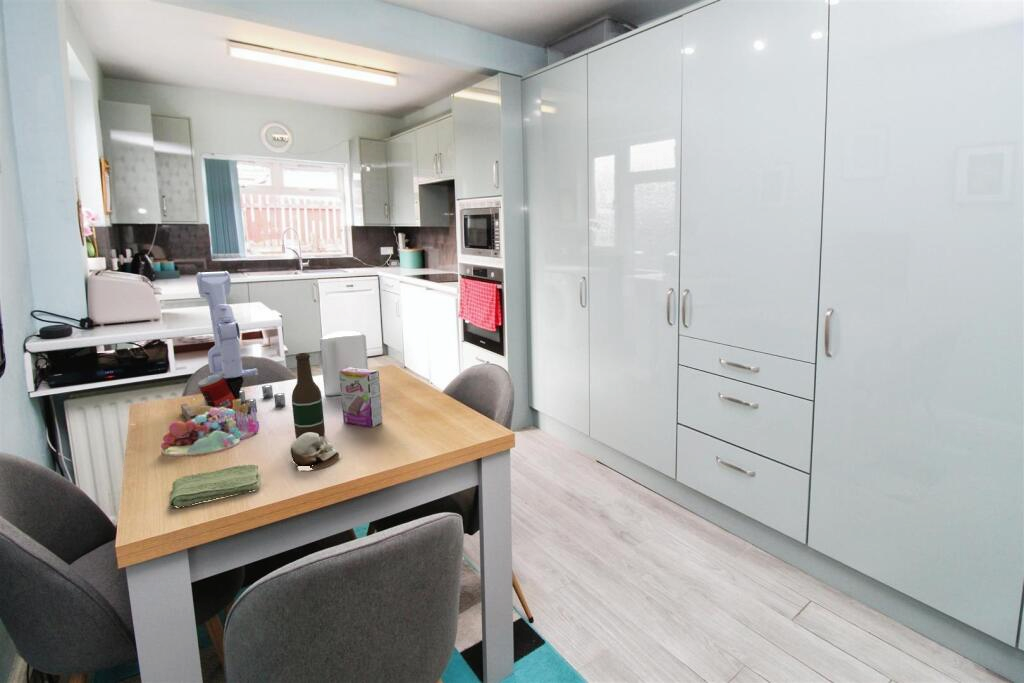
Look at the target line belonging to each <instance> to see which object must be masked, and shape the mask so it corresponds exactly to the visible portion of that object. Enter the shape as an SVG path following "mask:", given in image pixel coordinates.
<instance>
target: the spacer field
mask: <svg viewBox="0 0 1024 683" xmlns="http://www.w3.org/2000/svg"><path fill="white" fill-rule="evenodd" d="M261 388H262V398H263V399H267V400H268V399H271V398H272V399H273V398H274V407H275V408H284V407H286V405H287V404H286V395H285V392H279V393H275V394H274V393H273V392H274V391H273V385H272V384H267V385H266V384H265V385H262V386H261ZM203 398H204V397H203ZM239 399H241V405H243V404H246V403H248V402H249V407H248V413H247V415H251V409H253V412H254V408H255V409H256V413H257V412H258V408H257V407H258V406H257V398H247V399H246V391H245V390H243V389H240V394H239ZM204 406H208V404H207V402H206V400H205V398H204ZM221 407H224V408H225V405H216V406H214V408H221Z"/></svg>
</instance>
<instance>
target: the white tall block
mask: <svg viewBox="0 0 1024 683" xmlns="http://www.w3.org/2000/svg"><path fill="white" fill-rule="evenodd" d="M319 347H320V357H321V367H322V368H321V369H322V378H323V379H322V380H323V389H324V396H327V397H329V396H331V397H333V396H341V385H340V374H339V371H340V370H343V369H346V368H349V367H352V368H361V369H369V364H368V353H367V352H368V351H367V350H368V349H367V337H366V335H365V334H364V333H362V332H359V331H356V330H338V331H334V332H331V333H329V334H327V335H323V336H322V337H321V338H320V339H319Z"/></svg>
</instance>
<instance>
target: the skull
mask: <svg viewBox="0 0 1024 683" xmlns="http://www.w3.org/2000/svg"><path fill="white" fill-rule="evenodd" d="M290 456H291V460H292V459H293V461H294V462H295V463H296V464H297V465H298V466H310V468H312V469H314V470H313V471H315V469H317V470H321V469H323V468H325V467H328V466H330V465H332V464H334V463H335V462H337V460H338V459H339V457H340V453H339V452H338V451H337V450H336V449H335V448H333V445H332V443H331V442H329V441H327V439H326V438H325V437H324V436H323V437H319V434H317V433H312V432H308V433H304V434H302V435H301V436H299V437H298V438H297V439H296V438H295V440H294V441H293V443H291V446H290ZM296 464H295V465H296ZM297 465H296V466H297ZM312 465H313V466H312ZM298 466H297V467H298Z"/></svg>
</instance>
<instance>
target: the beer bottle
mask: <svg viewBox="0 0 1024 683" xmlns="http://www.w3.org/2000/svg"><path fill="white" fill-rule="evenodd" d="M310 358H311V355H310V353H308V352H301V353H300V352H299V353H297V354H296V355H295V360H296V374H297V376H296V377H297V379H296V385H295V386H294V389H293V390H292V393H291V404H292V405H291V406H292V407H291V408H292V415H293V422H294V423H293V426H294V434H295V440H296V439H297V438H298V437H299V436H301V435H302V434H304V433H308V432H312V433H317V434H319V437H323V438H324V436H325V434H326V431H325V429H326V428H325V427H326V426H325V420H324V419H325V418H324V405H323V397H322V391H321V390H320V387H319V386H318V384H316V383H315V381H314V377H313V374H312V368H311V367H312V366H311V361H310Z"/></svg>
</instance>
